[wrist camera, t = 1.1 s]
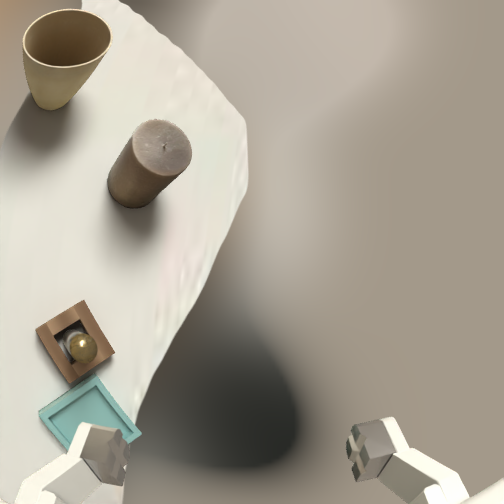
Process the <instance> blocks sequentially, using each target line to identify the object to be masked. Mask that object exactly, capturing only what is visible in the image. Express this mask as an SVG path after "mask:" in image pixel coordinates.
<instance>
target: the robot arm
mask: <svg viewBox="0 0 504 504" xmlns="http://www.w3.org/2000/svg"><path fill="white" fill-rule="evenodd" d="M351 432H352V435H350V436H349V437H348V439H347V442H346V451H347V456H348V459H349V460H350V461H352V462H353V463H354V464H353V466H352V472H353V475H354V478H355V481H356V482H360V481H364V480H369V479H373V478H377V479H378V480H379V481H380V482H381V483H383V484H384V485H385V486H387V487H388V488H389V489H390V490H391V491H393V492H394V493H395V494H396V495H398V496H399V497H400V498H401V499H403V500H404V501H405V502H406V503H408V504H504V477H503V478H502V479H500V480H499V481H497V482H496V483H494V484H493V485H491V486H489V487H488V488H486V489H484V490H483V491H481V492H479V493H478V494H476V495H475V496H472V497H471V498H470V497H469V495H468V493H467V491H466V489H465V487H464V485H463V483H462V481H461V479H460V477H459V475H458V473H456V472H454V471H453V470H451V469H449V468H447V467H445V466H444V465H441V464H440V463H438V462H436V461H435V460H433V459H431V458H430V457H428V456H426V455H424V454H423V453H421V452H419V451H418V450H416V449H414V448H409V446H408V444H407V442H406V440H405V438H404V436H403V434H402V432H401V430H400V428H399V426H398V424H397V422H396V420H395V419H394V418H393V417H388V418H384V419H380V420H379V419H378V420H374V421H369V422H366V423H360V424H355V425H354V426H352V429H351ZM122 436H123V433H122V432H121V430H120V429H117V428H111V427H105V426H100V425H95V424H90V423H85V422H82V423H81V424H80V425H79V426H78V428H77V431H76V433H75V435H74V438H73V440H72V443H71V445H70V448H69V450H68V453H67V454H62V455H61V456H59V457H58V458H56V459H55V460H53V461H52V462H50V463H49V464H47V465H46V466H45V467H43V468H42V469H40V470H38V471H37V472H35V473H34V474H32V475H31V476H29V477H28V478H26V479H25V480H24V481H23V483H22V485H21V488H20V490H19V493H18V495H17V498H16V500H15V503H14V504H81V503H82V502H83V501H84V500H85V499H87V498H88V497H89V496H90V495H91V494H92V493H93V492H94V491H95V490H96V489H97V488H98V487H99V486H100V485H101V484H102V483H107V484H112V485H117V486H123V482H124V478H125V473H126V472H125V470H124V468H123V467H124V466H125V465H126V464H128V461H129V451H130V450H129V445H128V443H127V441H126V440H124V439H123V438H122ZM101 482H102V483H101ZM0 504H9V503H8V502H6V501H4V500H2V499H0Z"/></svg>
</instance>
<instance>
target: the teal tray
mask: <svg viewBox="0 0 504 504" xmlns="http://www.w3.org/2000/svg"><path fill="white" fill-rule="evenodd" d="M39 417H40V418H41V419H42V421H43V422H44V423H45V424H46V426H47V427H48V428H49V429H50V431H51V432H52V433H53V434H54V435H55V436H56V438H57V439H58V440H59V441H60V442H61V443H62V445H63V446H64V447H65V448H66V449H67V450H69V448H70V445H71V443H72V440H73V438H74V435H75V433H76V431H77V428H78V426H79V425H80V424H81V423H82V422H85V423H90V424H95V425H100V426H105V427H111V428H117V429H120V430H121V432H122V433H123V436H122V438H123V439H124V440H126V441H127V443H128V444H129V443H131V442H132V441H133V440H134V439H136V438H137V437H138V436H140V435H141V434H142V433H141V432H140V431H139V430H138V429H137V427H136V426H135V425H134V424H133V422H132V421H131V420H130V419H129V418H128V416H127V415H126V414H125V413H124V411H123V410H122V409H121V408H120V406H119V405H118V404H117V402H116V401H115V400H114V398H113V397H112V396H111V394H110V393H109V392H108V390H107V389H106V388H105V386H104V385H103V383H102V382H101V381H100V379H99V378H98V376H97V375H96V374H95V373H94V374H92V375H91V376H89V377H88V378H87V379H85V380H84V381H82V382H81V383H79V384H78V385H76V386H75V387H73V388H72V389H70V390H69V391H67V392H66V393H65V394H63V395H62V396H60V397H59V398H57V399H56V400H54V401H53V402H51V403H50V404H48V405H47V406H45V407H44V408H42V409H41V410H39Z"/></svg>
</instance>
